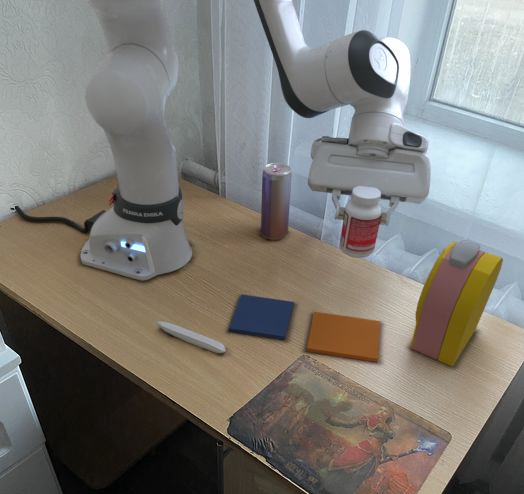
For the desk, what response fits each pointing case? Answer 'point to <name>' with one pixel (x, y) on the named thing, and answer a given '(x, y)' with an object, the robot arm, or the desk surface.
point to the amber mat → (344, 336)
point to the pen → (192, 337)
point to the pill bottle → (361, 222)
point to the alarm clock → (454, 300)
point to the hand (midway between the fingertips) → (361, 221)
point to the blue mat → (262, 317)
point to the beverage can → (275, 200)
